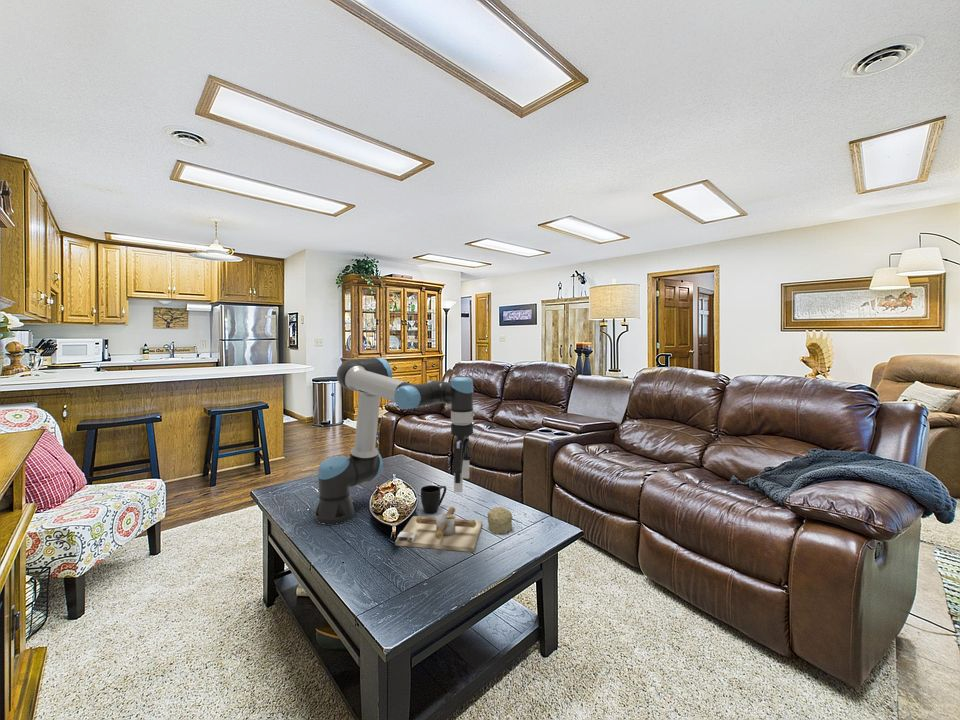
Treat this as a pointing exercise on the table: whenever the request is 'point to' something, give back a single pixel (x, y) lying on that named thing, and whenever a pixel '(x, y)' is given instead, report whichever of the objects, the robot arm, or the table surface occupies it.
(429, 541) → the stand
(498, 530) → the decorative object
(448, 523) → the capstan
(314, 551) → the table surface
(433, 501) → the mug
